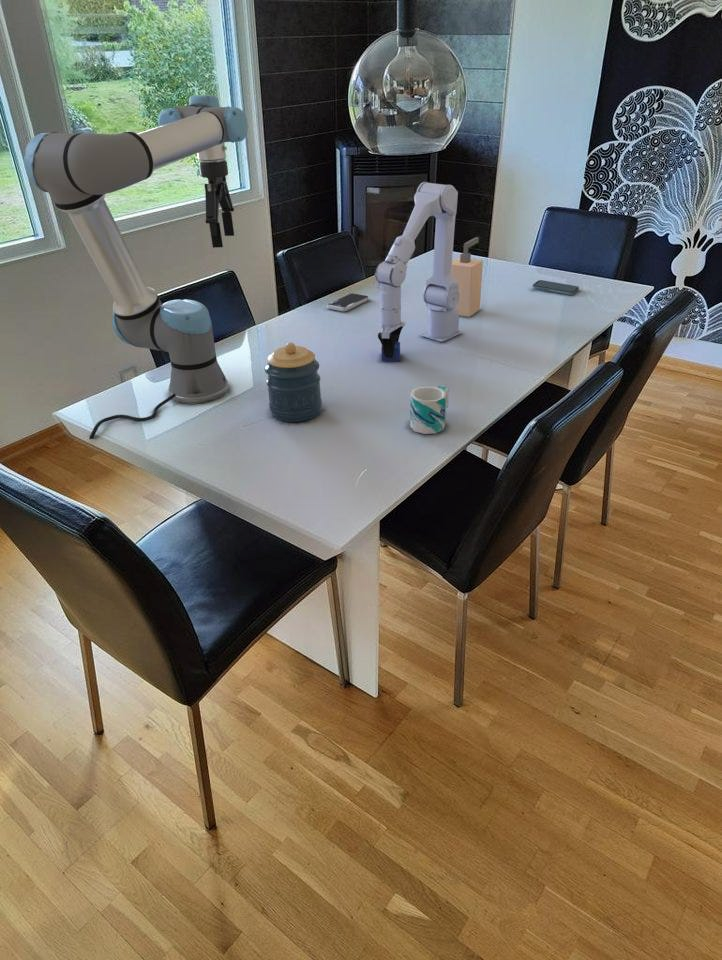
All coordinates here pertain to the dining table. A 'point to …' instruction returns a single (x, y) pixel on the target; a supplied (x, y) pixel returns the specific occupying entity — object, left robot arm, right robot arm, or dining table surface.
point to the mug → (428, 409)
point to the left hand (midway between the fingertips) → (223, 241)
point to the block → (396, 353)
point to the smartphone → (347, 302)
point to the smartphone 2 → (555, 287)
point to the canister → (293, 384)
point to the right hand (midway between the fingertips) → (391, 353)
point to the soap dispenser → (468, 280)
